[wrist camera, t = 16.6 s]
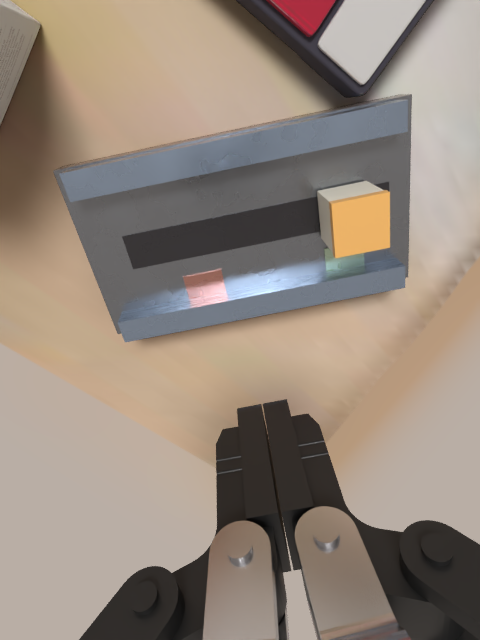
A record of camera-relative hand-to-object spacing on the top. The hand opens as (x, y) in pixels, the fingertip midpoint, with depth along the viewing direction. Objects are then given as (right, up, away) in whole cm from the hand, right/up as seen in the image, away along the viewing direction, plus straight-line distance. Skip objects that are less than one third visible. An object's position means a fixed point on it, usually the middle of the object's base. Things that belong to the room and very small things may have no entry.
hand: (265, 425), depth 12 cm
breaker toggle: (+7, +11, +17) cm, 21 cm away
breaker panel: (0, +11, +19) cm, 22 cm away
